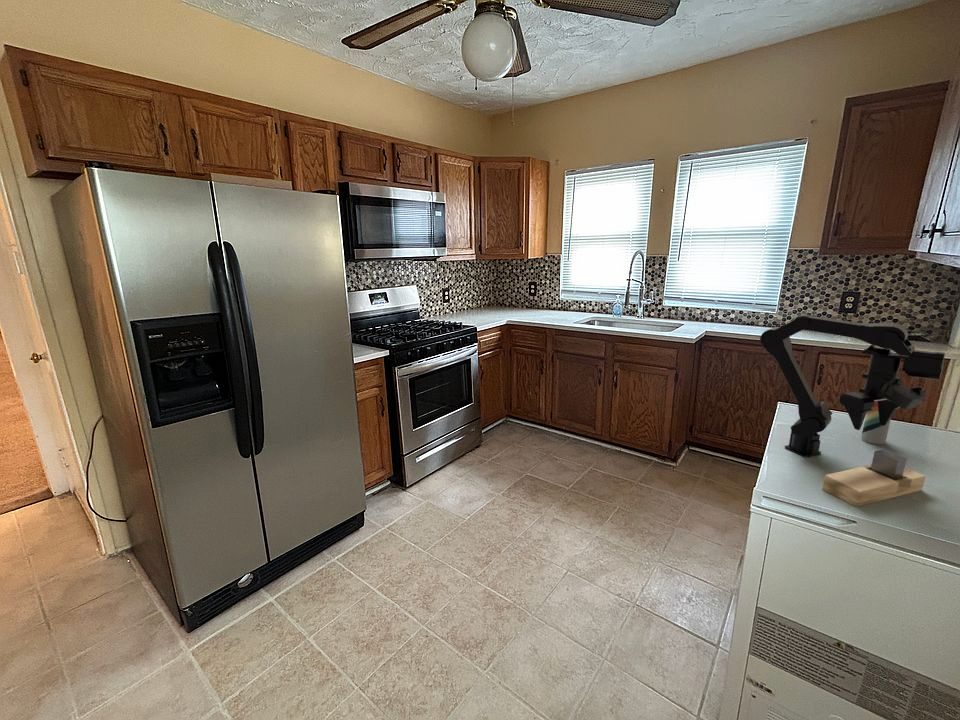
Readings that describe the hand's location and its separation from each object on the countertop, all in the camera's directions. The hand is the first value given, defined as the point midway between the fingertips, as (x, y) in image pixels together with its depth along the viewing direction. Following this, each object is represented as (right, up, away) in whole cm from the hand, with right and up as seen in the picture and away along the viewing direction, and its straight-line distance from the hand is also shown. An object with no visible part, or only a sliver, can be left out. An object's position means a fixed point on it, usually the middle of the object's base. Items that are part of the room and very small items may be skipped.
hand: (869, 427), depth 114 cm
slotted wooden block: (-7, -15, -8) cm, 18 cm away
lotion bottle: (+17, -7, +18) cm, 26 cm away
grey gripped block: (-3, -13, -7) cm, 15 cm away
